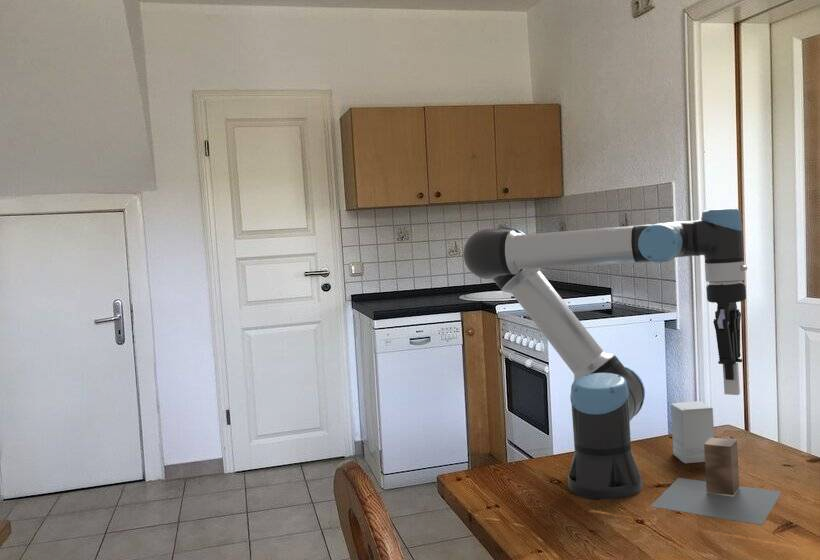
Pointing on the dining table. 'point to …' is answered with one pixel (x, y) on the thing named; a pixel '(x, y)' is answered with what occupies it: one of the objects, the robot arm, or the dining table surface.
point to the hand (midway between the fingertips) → (732, 393)
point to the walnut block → (721, 466)
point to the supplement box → (691, 430)
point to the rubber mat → (718, 501)
